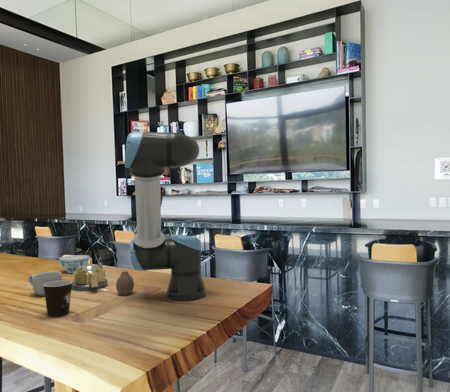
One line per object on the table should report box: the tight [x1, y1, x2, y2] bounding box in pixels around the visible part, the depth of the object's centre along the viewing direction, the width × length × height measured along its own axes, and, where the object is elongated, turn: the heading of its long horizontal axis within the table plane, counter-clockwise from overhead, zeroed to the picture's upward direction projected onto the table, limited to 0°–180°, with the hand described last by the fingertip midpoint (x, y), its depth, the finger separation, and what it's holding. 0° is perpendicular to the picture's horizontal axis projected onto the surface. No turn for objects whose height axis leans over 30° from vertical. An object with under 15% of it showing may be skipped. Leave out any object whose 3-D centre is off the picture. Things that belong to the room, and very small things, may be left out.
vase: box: [115, 270, 135, 296], centre depth 141 cm, size 7×7×9 cm
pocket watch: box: [96, 256, 104, 269], centre depth 171 cm, size 8×8×10 cm
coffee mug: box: [44, 280, 73, 318], centre depth 119 cm, size 12×9×10 cm
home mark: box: [98, 288, 110, 292], centre depth 147 cm, size 5×1×1 cm, turn 51°
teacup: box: [28, 271, 63, 297], centre depth 144 cm, size 14×11×8 cm
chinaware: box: [58, 254, 90, 274], centre depth 187 cm, size 15×15×8 cm
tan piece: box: [73, 266, 106, 287], centre depth 151 cm, size 20×12×5 cm, turn 30°
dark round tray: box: [71, 264, 109, 292], centre depth 155 cm, size 15×15×9 cm
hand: (152, 223), depth 164 cm, fingers closed
